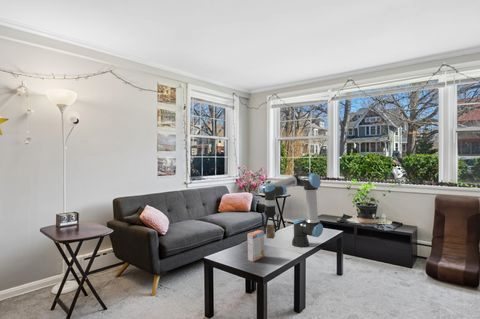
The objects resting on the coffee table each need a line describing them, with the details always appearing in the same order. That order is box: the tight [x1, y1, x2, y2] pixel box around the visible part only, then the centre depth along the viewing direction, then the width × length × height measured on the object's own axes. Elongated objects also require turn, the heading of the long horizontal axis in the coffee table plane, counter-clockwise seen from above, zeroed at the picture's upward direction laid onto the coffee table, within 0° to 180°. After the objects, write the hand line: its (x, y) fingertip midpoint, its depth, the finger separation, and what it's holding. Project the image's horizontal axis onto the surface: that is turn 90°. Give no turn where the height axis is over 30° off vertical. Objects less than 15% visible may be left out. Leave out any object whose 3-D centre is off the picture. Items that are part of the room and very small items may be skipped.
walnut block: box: [266, 224, 275, 240], centre depth 218 cm, size 5×5×9 cm
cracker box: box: [247, 229, 265, 263], centre depth 227 cm, size 14×6×21 cm, turn 138°
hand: (270, 236), depth 218 cm, fingers closed on walnut block, 5 cm apart
